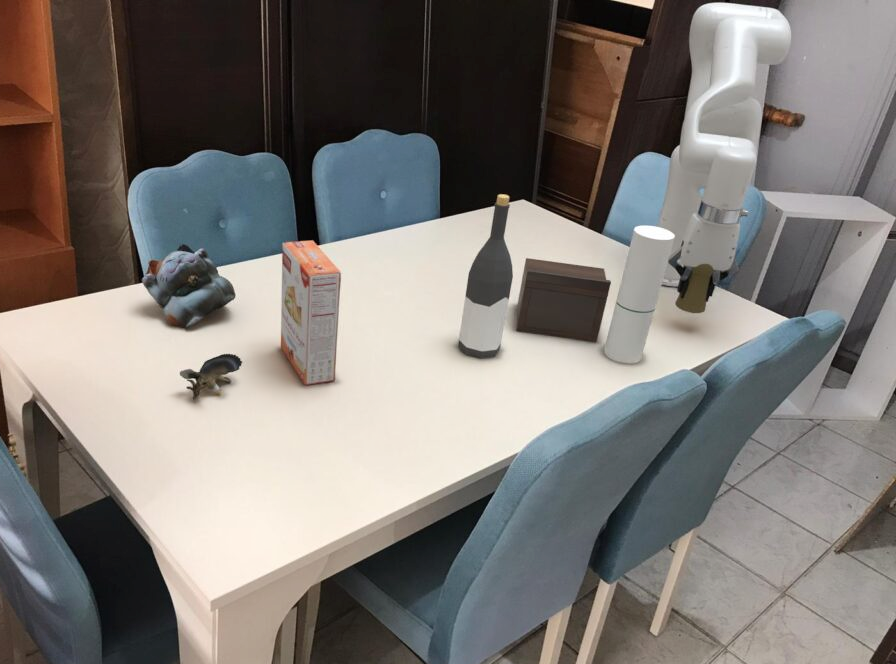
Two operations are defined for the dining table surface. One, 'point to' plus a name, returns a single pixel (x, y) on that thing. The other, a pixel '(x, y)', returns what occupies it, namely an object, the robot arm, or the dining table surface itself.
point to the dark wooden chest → (562, 300)
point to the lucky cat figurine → (187, 286)
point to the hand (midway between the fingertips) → (693, 296)
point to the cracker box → (309, 311)
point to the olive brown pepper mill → (696, 289)
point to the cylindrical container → (638, 293)
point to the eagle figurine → (212, 373)
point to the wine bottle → (488, 291)
